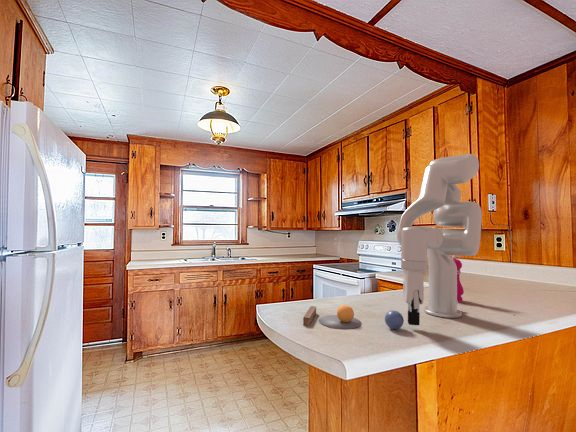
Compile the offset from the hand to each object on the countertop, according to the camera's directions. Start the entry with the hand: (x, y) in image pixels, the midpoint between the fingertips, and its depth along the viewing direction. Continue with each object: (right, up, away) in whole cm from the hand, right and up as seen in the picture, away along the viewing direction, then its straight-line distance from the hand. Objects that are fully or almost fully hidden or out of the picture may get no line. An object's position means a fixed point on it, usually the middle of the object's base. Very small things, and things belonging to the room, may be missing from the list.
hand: (413, 324), depth 94 cm
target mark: (-22, -1, +6) cm, 23 cm away
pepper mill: (+34, -4, +38) cm, 51 cm away
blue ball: (-6, +1, 0) cm, 6 cm away
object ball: (-20, +1, +5) cm, 21 cm away
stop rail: (-32, -1, +8) cm, 33 cm away
